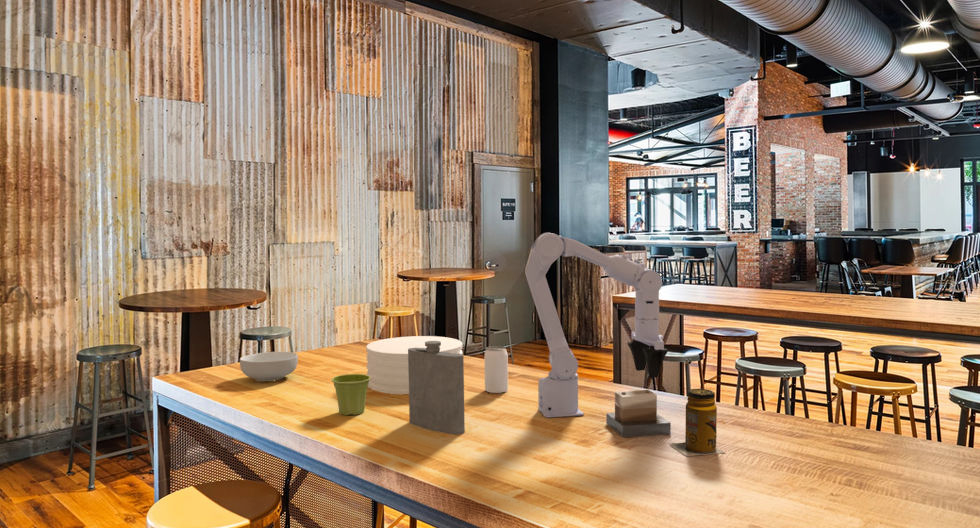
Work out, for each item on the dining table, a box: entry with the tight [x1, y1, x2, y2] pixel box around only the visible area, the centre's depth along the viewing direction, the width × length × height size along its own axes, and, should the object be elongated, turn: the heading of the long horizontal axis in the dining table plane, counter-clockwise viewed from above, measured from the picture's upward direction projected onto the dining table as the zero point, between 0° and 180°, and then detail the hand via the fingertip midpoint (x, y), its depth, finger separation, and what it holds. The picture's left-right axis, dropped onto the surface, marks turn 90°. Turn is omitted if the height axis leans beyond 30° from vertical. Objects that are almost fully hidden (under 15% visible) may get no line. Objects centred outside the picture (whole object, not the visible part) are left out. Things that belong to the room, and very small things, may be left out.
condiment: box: [669, 388, 726, 457], centre depth 134 cm, size 7×8×12 cm
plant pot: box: [331, 373, 371, 416], centre depth 163 cm, size 9×9×9 cm
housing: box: [614, 389, 658, 422], centre depth 147 cm, size 5×8×6 cm, turn 100°
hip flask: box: [408, 341, 466, 436], centre depth 150 cm, size 16×4×20 cm, turn 52°
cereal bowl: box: [239, 351, 299, 383], centre depth 200 cm, size 17×17×7 cm
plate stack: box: [366, 335, 464, 395], centre depth 194 cm, size 28×28×12 cm
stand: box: [605, 412, 672, 438], centre depth 148 cm, size 11×10×2 cm
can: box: [483, 345, 509, 394], centre depth 182 cm, size 6×6×12 cm
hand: (646, 373), depth 160 cm, fingers open, 7 cm apart
